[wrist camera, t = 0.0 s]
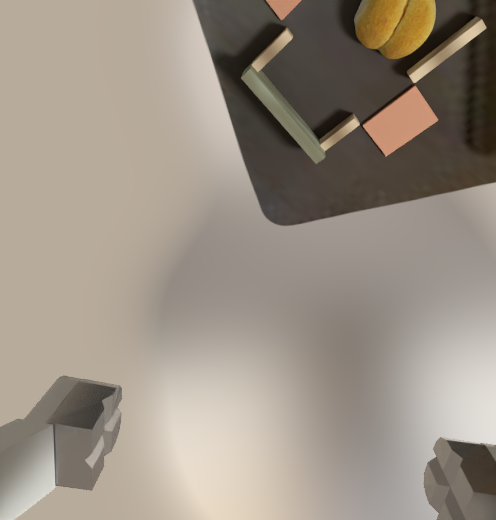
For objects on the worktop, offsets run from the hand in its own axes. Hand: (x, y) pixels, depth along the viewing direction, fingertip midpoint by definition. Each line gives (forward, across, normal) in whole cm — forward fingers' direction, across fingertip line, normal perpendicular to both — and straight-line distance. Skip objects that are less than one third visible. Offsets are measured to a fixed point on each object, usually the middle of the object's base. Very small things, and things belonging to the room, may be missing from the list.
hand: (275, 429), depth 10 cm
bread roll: (+48, -11, -20) cm, 54 cm away
